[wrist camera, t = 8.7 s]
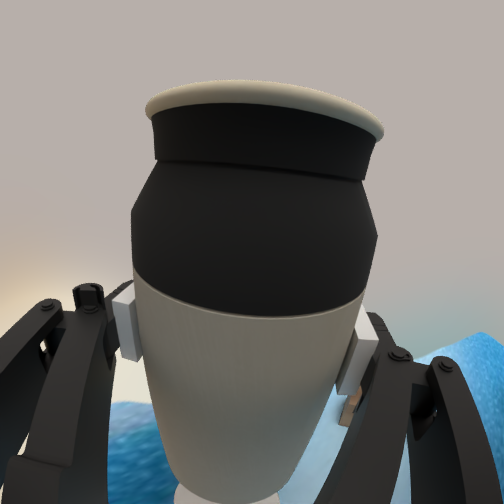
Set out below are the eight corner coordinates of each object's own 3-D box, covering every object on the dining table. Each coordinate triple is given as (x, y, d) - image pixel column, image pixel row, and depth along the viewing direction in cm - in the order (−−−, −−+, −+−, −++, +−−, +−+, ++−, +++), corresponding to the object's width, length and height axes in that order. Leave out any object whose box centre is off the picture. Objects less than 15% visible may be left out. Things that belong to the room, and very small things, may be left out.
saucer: (230, 450, 24) (230, 448, 24) (299, 503, 18) (300, 501, 17) (154, 492, 17) (153, 490, 17) (223, 561, 11) (223, 560, 11)
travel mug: (280, 519, 9) (434, 101, 3) (146, 477, 11) (81, 96, 5) (302, 423, 16) (369, 142, 11) (197, 397, 18) (203, 126, 13)
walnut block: (344, 402, 32) (354, 381, 31) (373, 409, 30) (385, 387, 29) (338, 425, 28) (349, 403, 27) (369, 432, 27) (383, 411, 25)
